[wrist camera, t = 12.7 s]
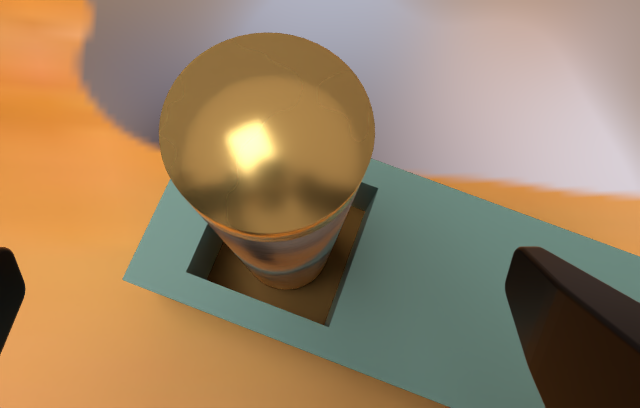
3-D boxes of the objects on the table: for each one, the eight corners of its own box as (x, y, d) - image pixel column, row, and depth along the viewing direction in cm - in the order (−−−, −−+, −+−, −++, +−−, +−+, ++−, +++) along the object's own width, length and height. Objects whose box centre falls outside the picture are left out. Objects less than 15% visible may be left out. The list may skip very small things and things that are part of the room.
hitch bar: (153, 287, 22) (121, 279, 18) (223, 135, 24) (208, 98, 20) (573, 450, 21) (636, 480, 17) (609, 278, 23) (674, 269, 19)
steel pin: (250, 297, 22) (171, 250, 8) (238, 213, 23) (149, 47, 9) (336, 281, 22) (396, 211, 8) (320, 199, 23) (351, 19, 9)
